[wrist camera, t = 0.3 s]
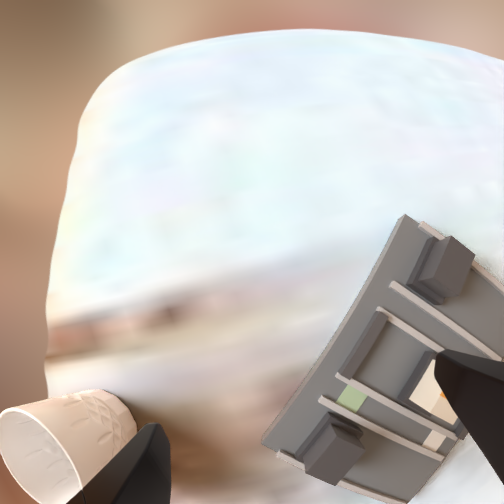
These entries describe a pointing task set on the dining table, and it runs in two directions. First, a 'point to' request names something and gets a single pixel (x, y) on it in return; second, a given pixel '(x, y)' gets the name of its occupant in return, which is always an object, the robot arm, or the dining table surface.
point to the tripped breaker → (427, 391)
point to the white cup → (63, 442)
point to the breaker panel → (391, 368)
